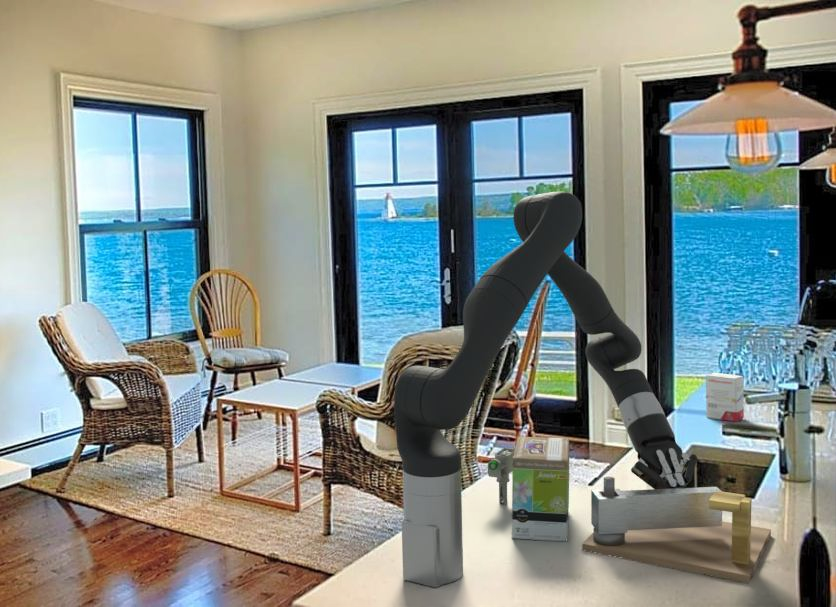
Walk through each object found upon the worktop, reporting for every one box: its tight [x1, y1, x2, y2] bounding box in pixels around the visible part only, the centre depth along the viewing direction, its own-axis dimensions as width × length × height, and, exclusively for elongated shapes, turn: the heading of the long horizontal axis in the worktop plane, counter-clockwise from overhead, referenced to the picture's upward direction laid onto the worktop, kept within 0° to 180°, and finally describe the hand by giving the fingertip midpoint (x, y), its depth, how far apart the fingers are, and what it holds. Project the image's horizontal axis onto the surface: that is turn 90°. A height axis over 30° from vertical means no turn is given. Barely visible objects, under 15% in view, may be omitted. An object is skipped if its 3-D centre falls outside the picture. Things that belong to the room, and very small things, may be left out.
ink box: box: [705, 372, 745, 423], centre depth 225 cm, size 9×5×12 cm, turn 44°
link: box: [590, 486, 723, 534], centre depth 142 cm, size 21×5×6 cm, turn 93°
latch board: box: [581, 476, 772, 584], centre depth 143 cm, size 21×26×12 cm
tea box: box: [511, 436, 570, 542], centre depth 152 cm, size 15×10×15 cm
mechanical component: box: [487, 447, 515, 505], centre depth 164 cm, size 3×10×10 cm, turn 152°
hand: (684, 509), depth 145 cm, fingers closed
